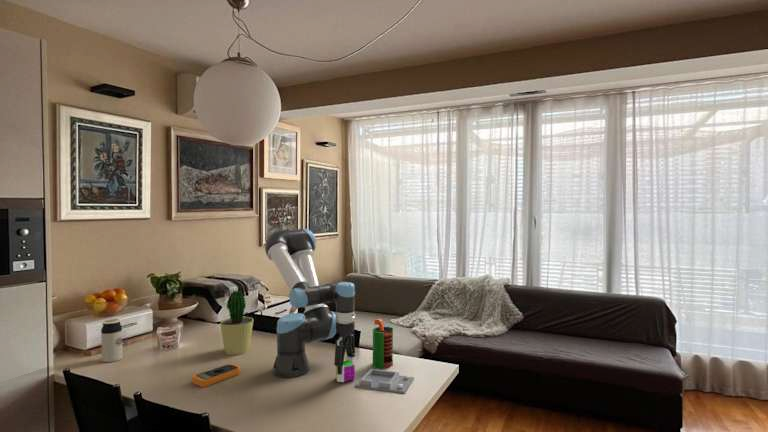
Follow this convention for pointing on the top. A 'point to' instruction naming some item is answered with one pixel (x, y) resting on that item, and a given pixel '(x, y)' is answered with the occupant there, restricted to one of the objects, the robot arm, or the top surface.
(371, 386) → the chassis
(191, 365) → the top surface
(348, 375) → the puzzle toy
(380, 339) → the motor
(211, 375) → the multimeter
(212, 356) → the top surface
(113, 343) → the travel mug
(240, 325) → the potted cactus
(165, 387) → the top surface
